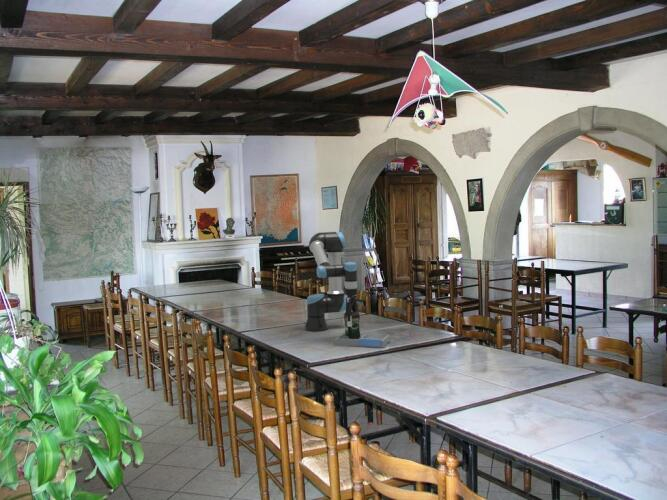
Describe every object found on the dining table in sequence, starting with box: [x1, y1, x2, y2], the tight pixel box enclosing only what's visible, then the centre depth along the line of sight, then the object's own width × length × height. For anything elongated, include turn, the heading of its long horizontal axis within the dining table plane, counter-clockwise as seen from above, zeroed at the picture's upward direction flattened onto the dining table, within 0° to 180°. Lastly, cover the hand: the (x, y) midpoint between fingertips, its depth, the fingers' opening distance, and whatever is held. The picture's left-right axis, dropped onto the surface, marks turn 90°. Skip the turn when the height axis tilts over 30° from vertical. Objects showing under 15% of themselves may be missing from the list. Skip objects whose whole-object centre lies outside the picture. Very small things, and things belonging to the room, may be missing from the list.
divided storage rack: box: [333, 332, 391, 349], centre depth 389 cm, size 18×30×5 cm, turn 71°
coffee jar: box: [343, 311, 362, 339], centre depth 393 cm, size 10×8×19 cm
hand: (352, 324), depth 393 cm, fingers closed on coffee jar, 10 cm apart
